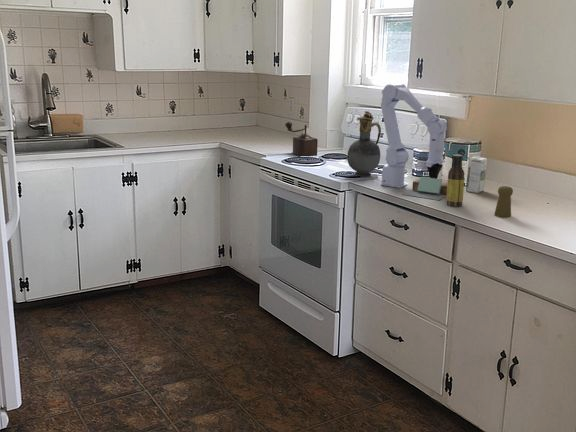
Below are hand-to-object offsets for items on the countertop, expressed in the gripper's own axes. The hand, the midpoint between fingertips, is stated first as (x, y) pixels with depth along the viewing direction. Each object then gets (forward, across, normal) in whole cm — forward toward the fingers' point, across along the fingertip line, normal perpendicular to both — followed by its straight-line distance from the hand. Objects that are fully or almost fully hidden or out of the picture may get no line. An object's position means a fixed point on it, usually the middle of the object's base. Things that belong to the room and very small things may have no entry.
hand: (433, 181), depth 269 cm
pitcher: (+5, +14, +39) cm, 42 cm away
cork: (+5, -20, -35) cm, 40 cm away
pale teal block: (+1, -3, 0) cm, 3 cm away
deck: (+5, +3, 0) cm, 6 cm away
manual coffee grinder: (+5, +40, +92) cm, 101 cm away
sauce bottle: (+5, -16, -15) cm, 22 cm away
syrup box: (+5, +13, -14) cm, 20 cm away
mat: (+5, -8, 0) cm, 9 cm away
